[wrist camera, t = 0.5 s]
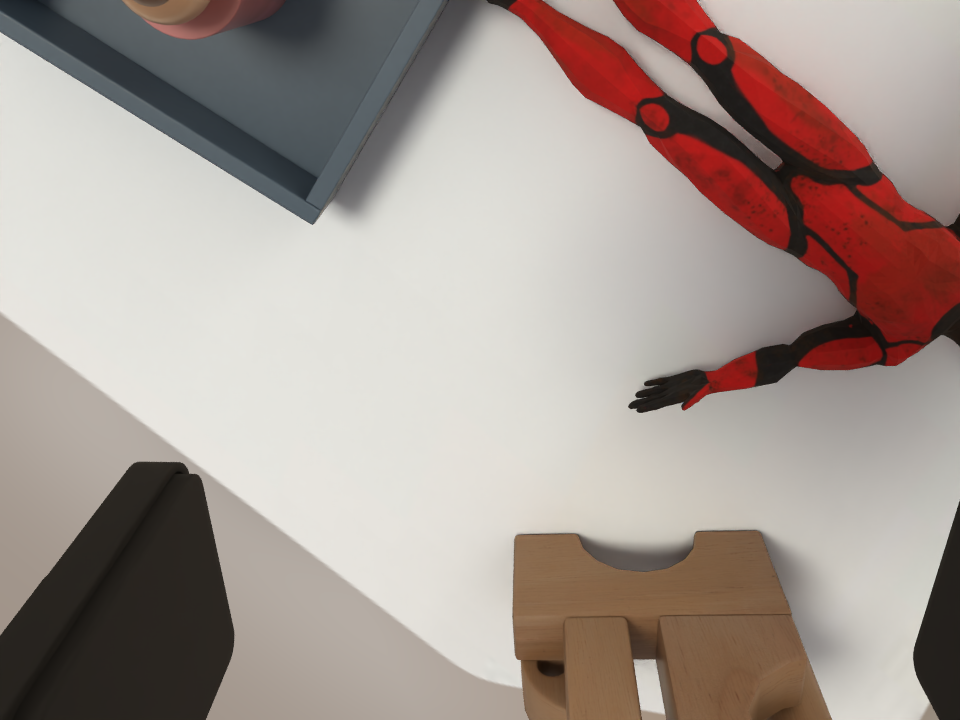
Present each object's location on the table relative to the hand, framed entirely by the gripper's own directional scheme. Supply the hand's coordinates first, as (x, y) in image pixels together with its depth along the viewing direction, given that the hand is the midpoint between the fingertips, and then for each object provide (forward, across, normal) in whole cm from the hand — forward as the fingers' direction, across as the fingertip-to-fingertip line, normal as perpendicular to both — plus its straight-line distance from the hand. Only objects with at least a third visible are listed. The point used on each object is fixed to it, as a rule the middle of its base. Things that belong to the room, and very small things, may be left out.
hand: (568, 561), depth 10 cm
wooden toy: (+29, -7, +26) cm, 40 cm away
